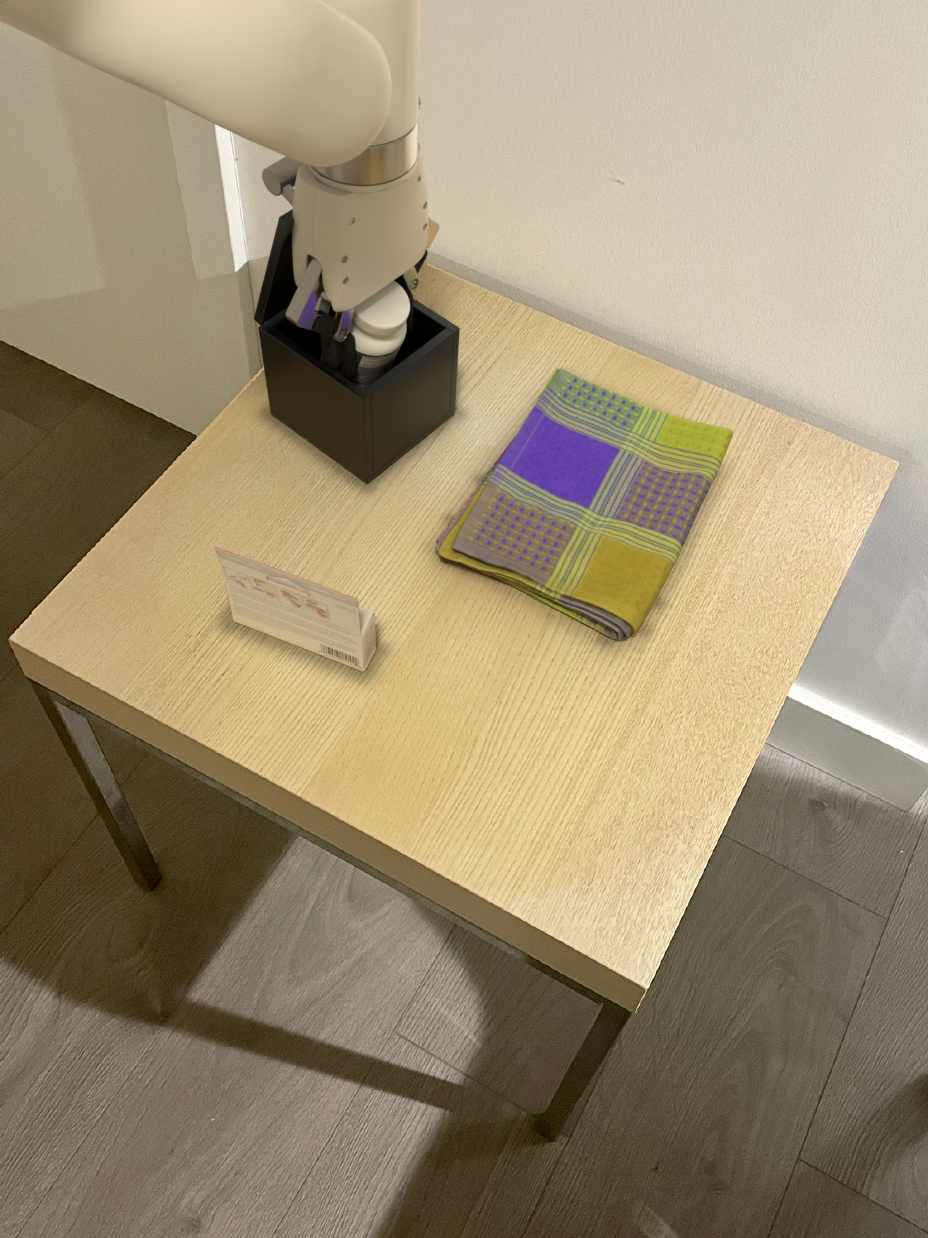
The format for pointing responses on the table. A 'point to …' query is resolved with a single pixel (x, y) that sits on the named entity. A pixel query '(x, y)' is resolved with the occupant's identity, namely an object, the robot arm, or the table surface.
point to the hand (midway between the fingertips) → (368, 344)
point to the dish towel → (589, 504)
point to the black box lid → (279, 245)
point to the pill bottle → (377, 333)
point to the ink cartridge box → (298, 611)
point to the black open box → (362, 392)
